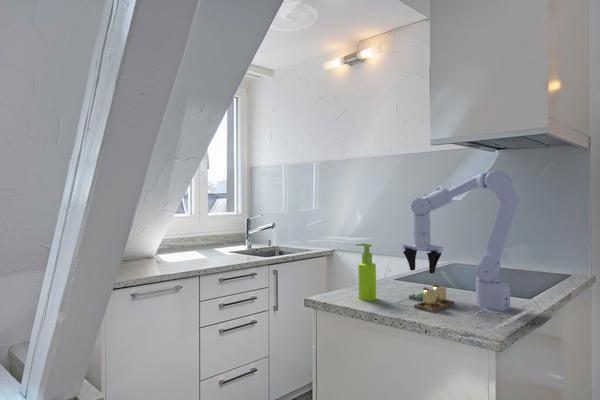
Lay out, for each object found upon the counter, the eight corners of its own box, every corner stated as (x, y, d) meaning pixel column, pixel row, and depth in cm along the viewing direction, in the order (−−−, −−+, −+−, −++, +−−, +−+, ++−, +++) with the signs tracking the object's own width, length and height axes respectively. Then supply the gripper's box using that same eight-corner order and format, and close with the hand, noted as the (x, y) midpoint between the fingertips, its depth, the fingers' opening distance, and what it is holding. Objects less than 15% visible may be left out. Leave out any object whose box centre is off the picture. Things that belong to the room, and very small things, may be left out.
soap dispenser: (363, 298, 140) (362, 242, 140) (379, 301, 135) (378, 243, 135) (352, 301, 135) (352, 243, 135) (369, 305, 131) (368, 245, 130)
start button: (425, 301, 133) (425, 293, 133) (421, 303, 131) (420, 294, 131) (418, 299, 136) (418, 291, 136) (413, 301, 134) (413, 293, 134)
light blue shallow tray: (425, 306, 129) (425, 302, 129) (411, 311, 123) (411, 307, 123) (407, 302, 134) (407, 298, 134) (394, 306, 128) (394, 302, 128)
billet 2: (448, 306, 126) (448, 285, 126) (442, 308, 123) (442, 287, 123) (437, 303, 129) (436, 283, 129) (430, 305, 126) (430, 285, 126)
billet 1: (437, 308, 123) (437, 287, 122) (434, 312, 119) (434, 290, 119) (424, 306, 125) (424, 286, 125) (421, 310, 121) (421, 288, 121)
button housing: (430, 302, 133) (430, 295, 133) (422, 305, 130) (422, 298, 130) (417, 299, 137) (417, 293, 137) (409, 302, 134) (408, 295, 134)
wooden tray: (456, 308, 125) (456, 301, 125) (435, 317, 117) (435, 309, 117) (433, 304, 131) (433, 297, 131) (412, 311, 123) (412, 304, 123)
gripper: (447, 233, 134) (447, 272, 134) (410, 230, 145) (410, 267, 145) (436, 234, 129) (436, 275, 129) (399, 232, 140) (399, 269, 140)
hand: (422, 271), depth 137 cm, fingers open, 7 cm apart
